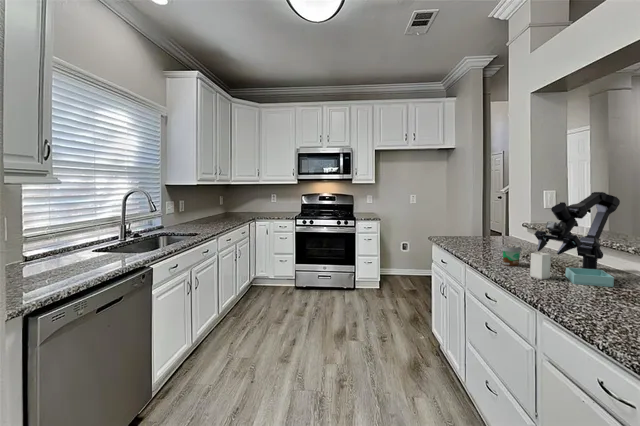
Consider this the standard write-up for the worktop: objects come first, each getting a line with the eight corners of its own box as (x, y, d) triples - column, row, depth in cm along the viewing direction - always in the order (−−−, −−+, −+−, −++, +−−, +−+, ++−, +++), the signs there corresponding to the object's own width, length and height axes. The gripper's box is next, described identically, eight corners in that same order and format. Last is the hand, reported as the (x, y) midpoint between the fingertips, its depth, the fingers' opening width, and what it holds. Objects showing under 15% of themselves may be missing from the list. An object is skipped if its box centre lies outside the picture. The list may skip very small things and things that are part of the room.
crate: (565, 275, 161) (565, 267, 161) (601, 278, 156) (602, 269, 155) (573, 283, 148) (573, 274, 148) (613, 286, 143) (613, 277, 143)
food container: (513, 268, 177) (514, 248, 176) (501, 265, 182) (502, 246, 182) (526, 264, 184) (526, 246, 183) (514, 262, 189) (514, 244, 188)
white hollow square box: (530, 276, 161) (530, 253, 160) (538, 275, 163) (539, 252, 162) (541, 279, 156) (542, 255, 155) (549, 278, 158) (550, 254, 157)
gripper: (537, 214, 169) (520, 238, 166) (578, 217, 152) (560, 244, 149) (548, 229, 173) (531, 253, 169) (589, 234, 155) (571, 260, 152)
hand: (547, 252), depth 160 cm, fingers open, 9 cm apart
